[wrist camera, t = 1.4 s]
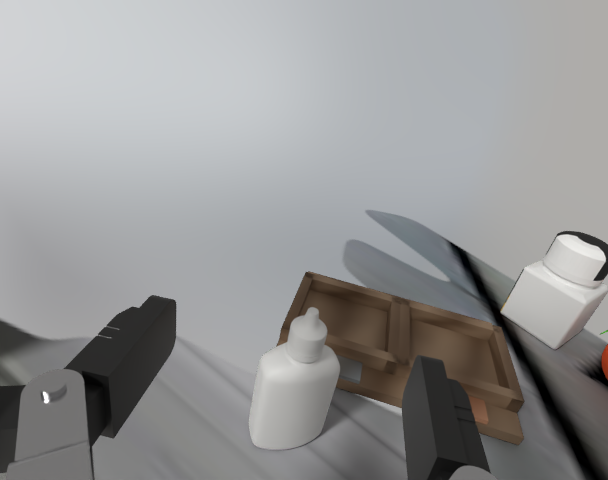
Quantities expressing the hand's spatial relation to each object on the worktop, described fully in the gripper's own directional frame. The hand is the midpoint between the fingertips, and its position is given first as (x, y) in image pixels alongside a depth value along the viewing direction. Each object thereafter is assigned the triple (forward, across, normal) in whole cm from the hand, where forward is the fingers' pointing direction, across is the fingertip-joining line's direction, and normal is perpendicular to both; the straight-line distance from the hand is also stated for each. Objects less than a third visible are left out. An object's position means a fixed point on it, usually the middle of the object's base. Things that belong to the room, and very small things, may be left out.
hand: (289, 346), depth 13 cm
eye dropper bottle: (+11, 0, +18) cm, 21 cm away
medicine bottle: (+34, -28, +18) cm, 47 cm away
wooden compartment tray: (+24, -9, +17) cm, 31 cm away
